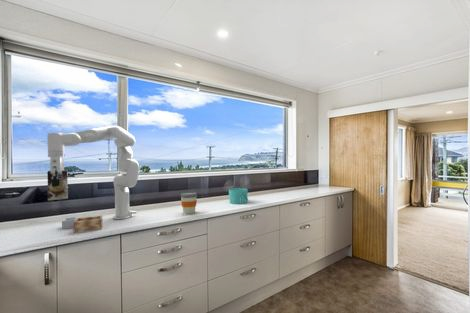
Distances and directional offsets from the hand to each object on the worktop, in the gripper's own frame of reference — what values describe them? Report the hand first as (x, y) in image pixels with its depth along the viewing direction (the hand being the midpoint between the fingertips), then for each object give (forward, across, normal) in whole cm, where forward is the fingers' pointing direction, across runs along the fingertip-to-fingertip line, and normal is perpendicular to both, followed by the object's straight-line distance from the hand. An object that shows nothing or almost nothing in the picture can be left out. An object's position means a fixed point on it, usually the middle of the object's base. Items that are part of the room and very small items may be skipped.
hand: (57, 185), depth 131 cm
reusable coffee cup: (+30, +14, -80) cm, 87 cm away
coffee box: (+8, 0, 0) cm, 8 cm away
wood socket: (+28, +4, -14) cm, 32 cm away
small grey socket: (+28, +15, -3) cm, 32 cm away
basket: (+31, +30, -133) cm, 139 cm away
